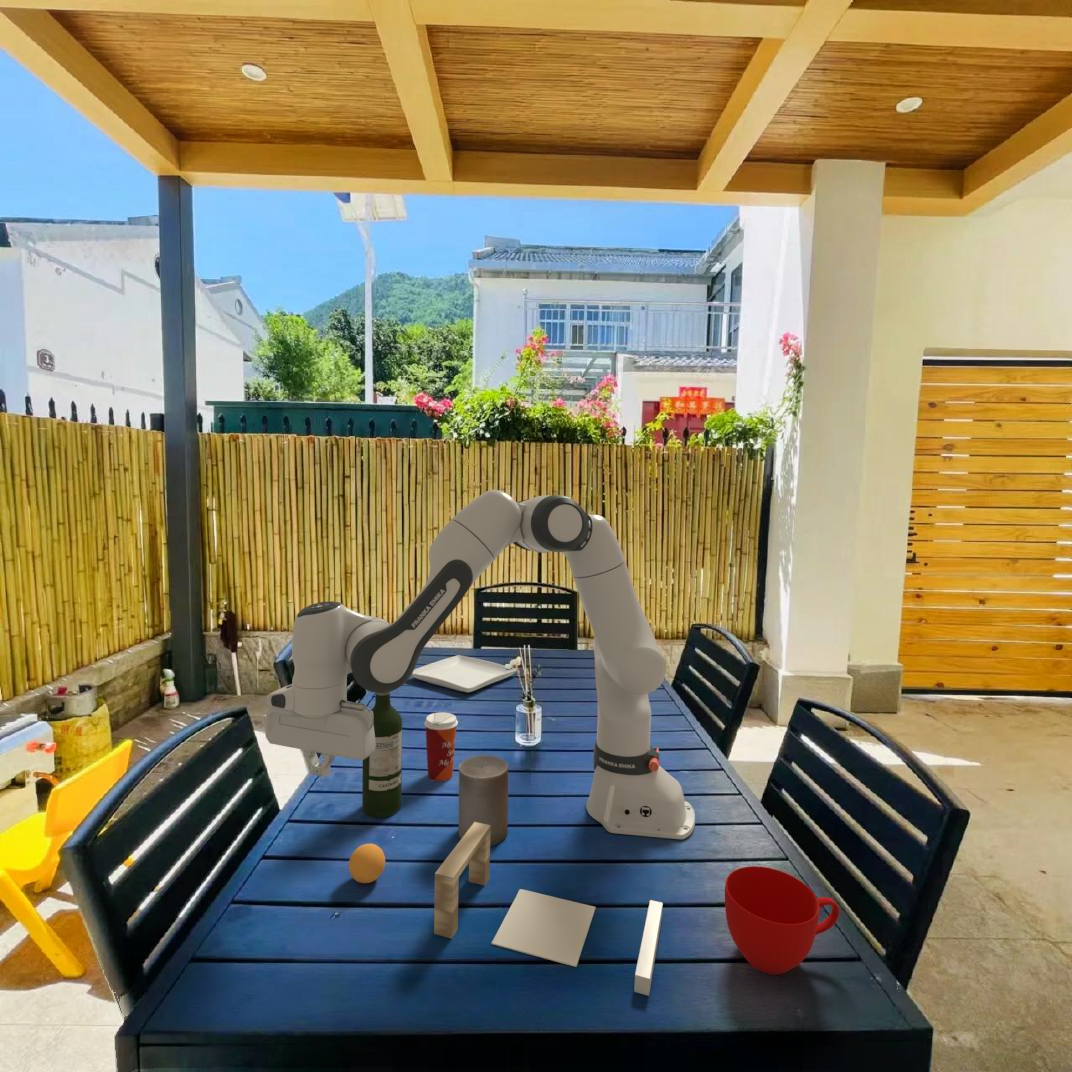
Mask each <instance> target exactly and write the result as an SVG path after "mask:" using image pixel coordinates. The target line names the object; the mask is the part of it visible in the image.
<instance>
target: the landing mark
mask: <svg viewBox="0 0 1072 1072" xmlns="http://www.w3.org/2000/svg"><path fill="white" fill-rule="evenodd" d="M596 908H597V907H596V906H593V905H590V904H584V903H581V902H577V901H576V902H575V901H572V900H568V899H563V898H558V897H555V896H551V895H547V894H542V893H539V892H534V891H531V890H527V889H521V888H519V890H518V892H517V894H516V896H515V898H514V900H513V902H512V904H511V905H510V907H509V909H508V910H507V913H506V915H505V917H504V919H503V921H502V923H501V924H500V927H499V928H498V930H497V932H496V934H495V935H494V937H493V940H491V945H494V946H497V947H500V948H503V949H504V948H505V949H507V950H512V951H515V952H519V953H523V954H526V955H530V956H535V957H537V958H538V957H539V958H541V959H544V960H550V961H552V962H556V963H560V964H564V965H567V966H571V967H575V968H577V966H578V964H579V960H580V957H581V954H582V951H583V947H584V945H585V943H586V942H585V941H586V938H587V936H588V933H589V930H590V926H591V924H592V920H593V917H594V915H595V911H596Z"/></svg>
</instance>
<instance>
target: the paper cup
mask: <svg viewBox="0 0 1072 1072" xmlns="http://www.w3.org/2000/svg"><path fill="white" fill-rule="evenodd" d="M458 723H459V721H458V720H457V717H456V715H454V714H453V713H450V712H443V711H442V712H435V713H430V714H428V715H427V716H426V718H425V721H424V723H423V725H424V727H425V738H426V739H425V741H426V743H425V744H426V763H427V778H428V777H429V778H428V779H429V780H430V779H431V780H430V781H432V780H434V781H433V782H435V781H443V782H446V781H445V780H447V781H449V780H451V779H452V777H453V773H454V761H455V749H456V737H457V736H456V735H457V726H458V725H459V724H458ZM450 778H451V779H450ZM448 779H449V780H448Z"/></svg>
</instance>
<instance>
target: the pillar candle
mask: <svg viewBox="0 0 1072 1072" xmlns="http://www.w3.org/2000/svg"><path fill="white" fill-rule="evenodd" d="M508 815H509V763H508V762H507V761H506V760H505V759H503V758H501V757H498V756H496V755H489V754H488V755H487V754H483V755H482V754H481V755H474V756H470V757H468V758H466V759H463V761H461V762H460V763H459V764H458V837H459V839H460V840H461V839H462V838H463V836H464V835H465V834H466V832H467V831H468V830H469V828H470V827H471V826H472V825H473V823H474V822H477V823H482V824H487V825H491V832H490V847H491V846H494V845H497V844H499V843H500V842H502V841H503V840H504V839H505V838H506V837H507V836H508V834H509V833H508V832H509V831H508V828H509V827H508V824H509V816H508Z"/></svg>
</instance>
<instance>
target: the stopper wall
mask: <svg viewBox="0 0 1072 1072" xmlns="http://www.w3.org/2000/svg"><path fill="white" fill-rule="evenodd" d="M663 906H664V905H663V902H661V901H656V900H652V899H650V900H649V905H648V908H647V914H646V919H645V924H644V929H643V933H642V939H641V944H640V948H639V954H638V958H637V963H636V968H635V974H634V988H633V989H634V990H633V992H634V993H638V994H641V995H644V996H648V997H650V992H651V985H652V981H653V974H654V969H655V962H656V955H657V949H658V945H659V944H658V942H659V937H660V931H661V924H662V918H663V908H664V907H663Z"/></svg>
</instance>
